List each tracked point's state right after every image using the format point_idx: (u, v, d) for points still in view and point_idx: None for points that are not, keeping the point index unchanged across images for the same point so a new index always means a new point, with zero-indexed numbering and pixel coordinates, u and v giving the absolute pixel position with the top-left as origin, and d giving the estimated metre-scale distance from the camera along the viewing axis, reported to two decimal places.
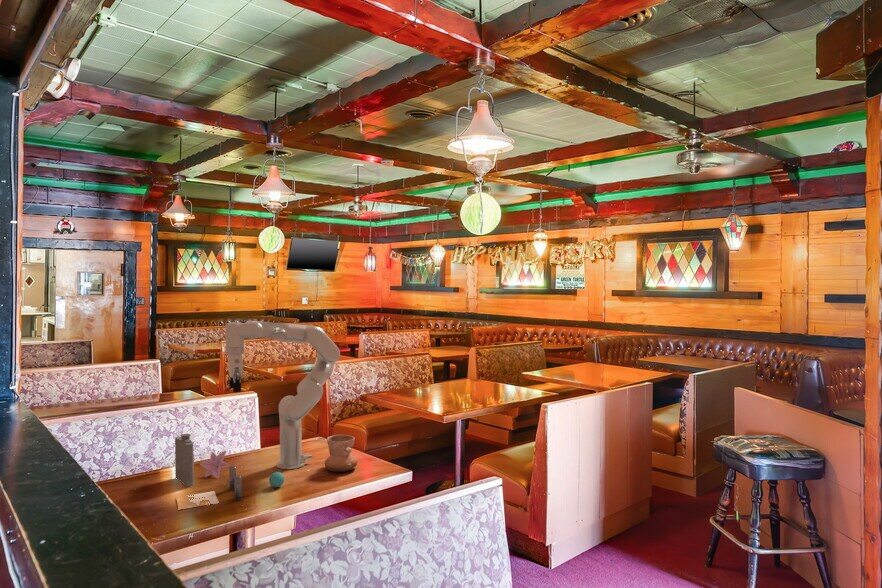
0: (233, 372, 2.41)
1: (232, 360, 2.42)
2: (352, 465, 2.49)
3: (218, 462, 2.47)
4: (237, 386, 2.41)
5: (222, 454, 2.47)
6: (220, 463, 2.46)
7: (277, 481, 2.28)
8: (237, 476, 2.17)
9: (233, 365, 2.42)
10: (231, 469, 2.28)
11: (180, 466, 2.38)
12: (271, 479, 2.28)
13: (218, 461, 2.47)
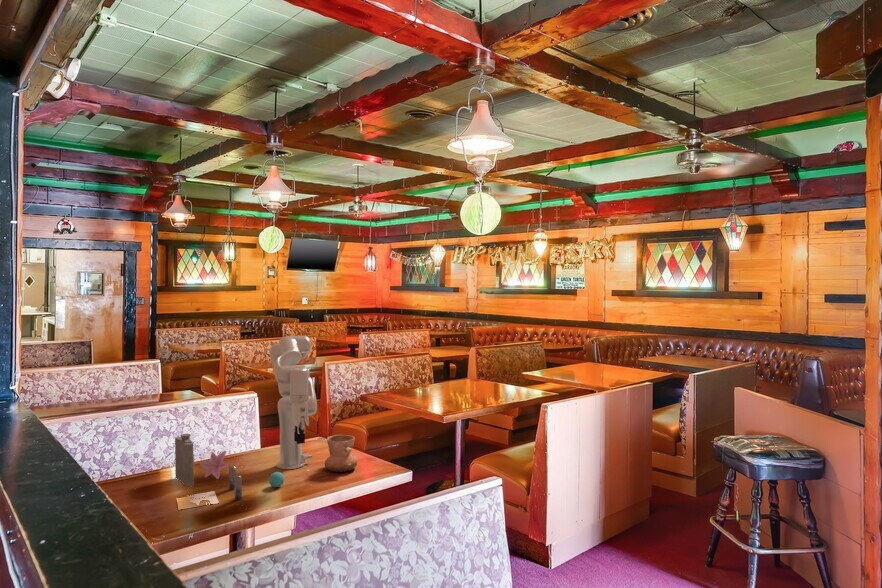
0: (299, 421, 2.30)
1: (297, 409, 2.30)
2: (352, 465, 2.49)
3: (218, 462, 2.47)
4: (301, 437, 2.33)
5: (222, 454, 2.47)
6: (220, 463, 2.46)
7: (277, 481, 2.28)
8: (237, 476, 2.17)
9: (299, 414, 2.30)
10: (231, 469, 2.28)
11: (180, 466, 2.38)
12: (271, 479, 2.28)
13: (218, 461, 2.47)
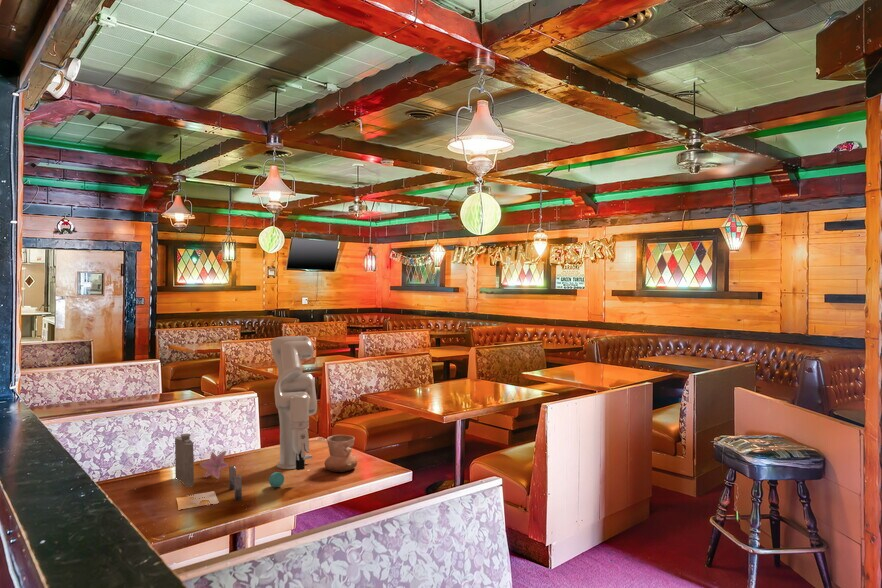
0: (299, 448, 2.30)
1: (298, 436, 2.30)
2: (352, 465, 2.49)
3: (218, 462, 2.47)
4: (301, 464, 2.33)
5: (222, 454, 2.47)
6: (220, 463, 2.46)
7: (277, 481, 2.28)
8: (237, 476, 2.17)
9: (299, 441, 2.30)
10: (231, 469, 2.28)
11: (180, 466, 2.38)
12: (271, 479, 2.28)
13: (218, 461, 2.46)
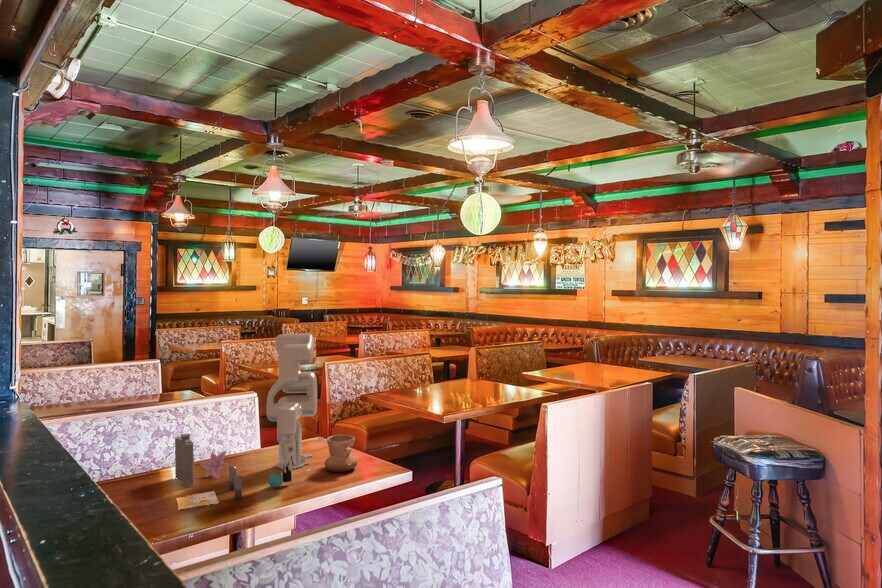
0: (286, 461, 2.28)
1: (285, 448, 2.28)
2: (352, 465, 2.49)
3: (218, 462, 2.46)
4: (288, 476, 2.31)
5: (222, 454, 2.47)
6: (220, 463, 2.46)
7: (276, 482, 2.28)
8: (237, 476, 2.17)
9: (286, 454, 2.28)
10: (231, 469, 2.28)
11: (180, 466, 2.38)
12: (270, 479, 2.28)
13: (218, 461, 2.46)
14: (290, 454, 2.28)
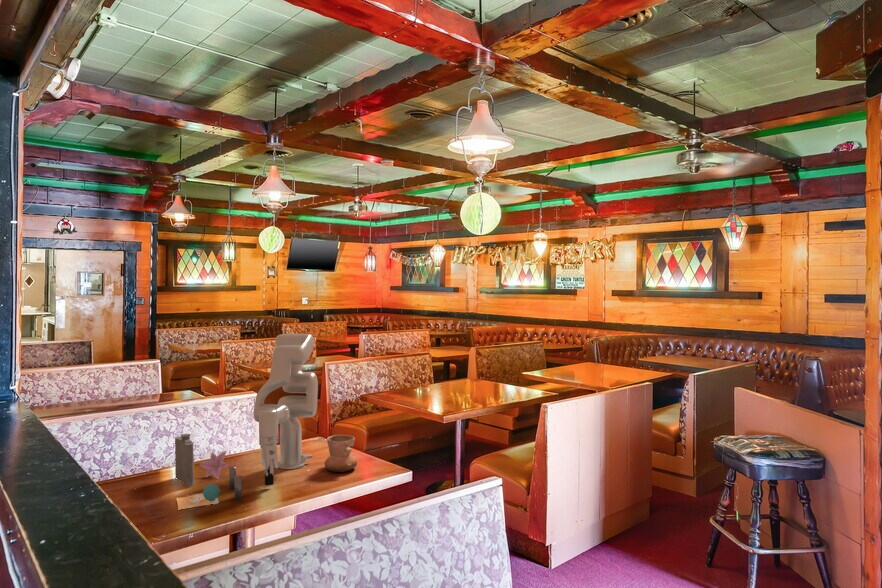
0: (267, 464, 2.24)
1: (266, 451, 2.25)
2: (352, 465, 2.49)
3: (218, 462, 2.46)
4: (269, 479, 2.28)
5: (222, 454, 2.47)
6: (220, 463, 2.46)
7: (213, 495, 2.15)
8: (237, 476, 2.17)
9: (267, 457, 2.25)
10: (231, 469, 2.28)
11: (180, 466, 2.38)
12: None
13: (218, 462, 2.46)
14: (271, 457, 2.25)
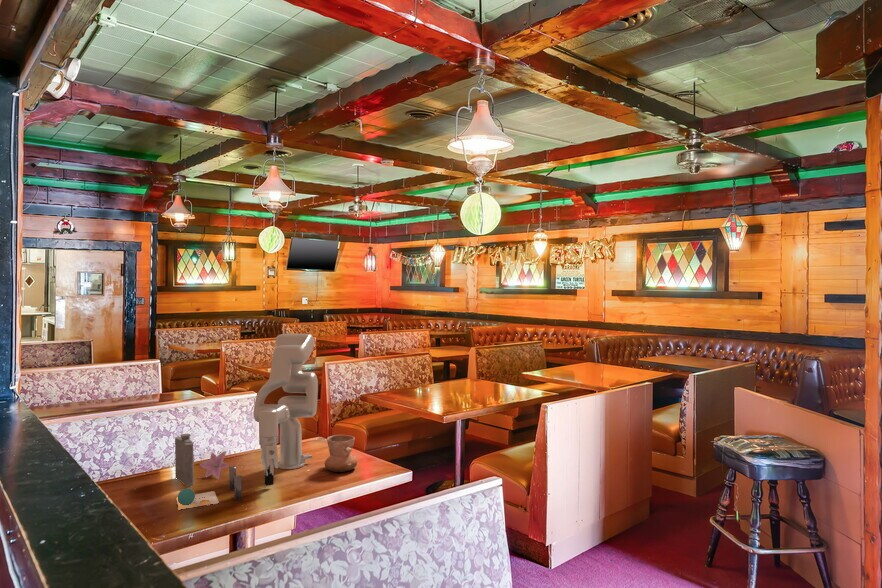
0: (267, 464, 2.24)
1: (266, 451, 2.25)
2: (352, 465, 2.49)
3: (218, 462, 2.46)
4: (269, 479, 2.28)
5: (222, 454, 2.47)
6: (220, 463, 2.46)
7: (187, 497, 2.10)
8: (237, 476, 2.17)
9: (267, 457, 2.25)
10: (231, 469, 2.28)
11: (180, 466, 2.38)
12: (189, 490, 2.12)
13: (218, 462, 2.46)
14: (271, 457, 2.25)
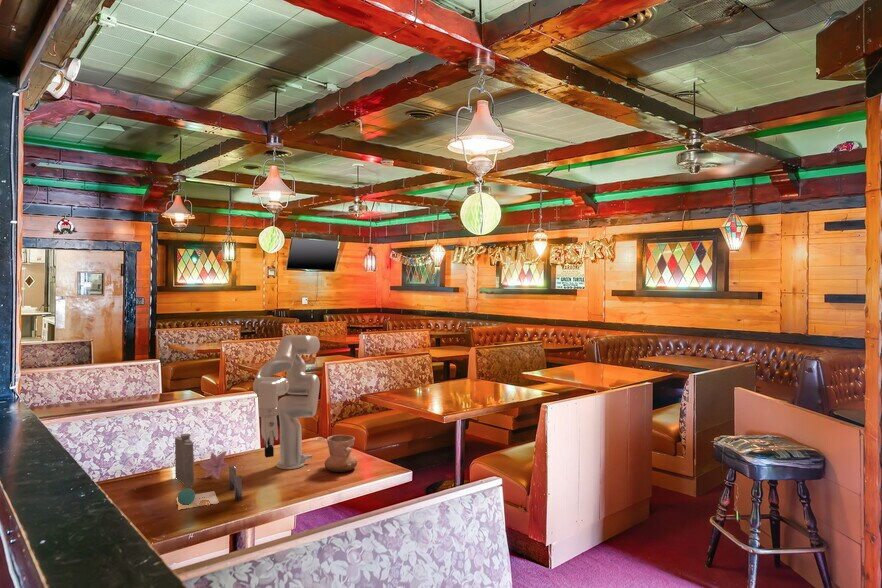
0: (267, 436, 2.24)
1: (266, 423, 2.25)
2: (352, 465, 2.49)
3: (218, 463, 2.46)
4: (269, 451, 2.28)
5: (222, 454, 2.47)
6: (220, 464, 2.45)
7: (187, 497, 2.10)
8: (237, 476, 2.17)
9: (267, 428, 2.24)
10: (231, 469, 2.28)
11: (180, 466, 2.38)
12: (189, 490, 2.12)
13: (218, 462, 2.46)
14: (271, 429, 2.25)
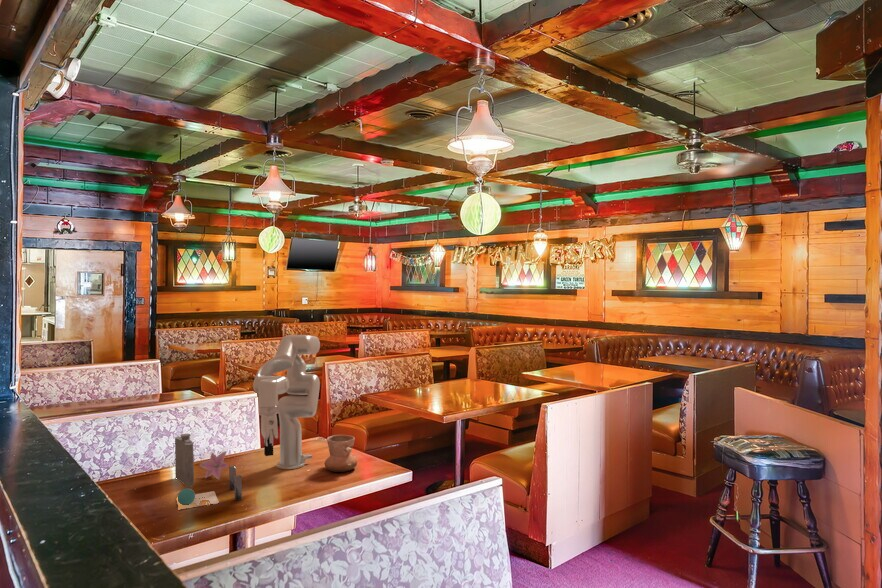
0: (267, 434, 2.24)
1: (266, 421, 2.25)
2: (352, 465, 2.49)
3: (218, 463, 2.46)
4: (269, 450, 2.28)
5: (222, 454, 2.46)
6: (220, 464, 2.45)
7: (187, 497, 2.10)
8: (237, 476, 2.17)
9: (267, 427, 2.24)
10: (231, 469, 2.28)
11: (180, 466, 2.38)
12: (189, 490, 2.12)
13: (218, 462, 2.46)
14: (271, 427, 2.25)
